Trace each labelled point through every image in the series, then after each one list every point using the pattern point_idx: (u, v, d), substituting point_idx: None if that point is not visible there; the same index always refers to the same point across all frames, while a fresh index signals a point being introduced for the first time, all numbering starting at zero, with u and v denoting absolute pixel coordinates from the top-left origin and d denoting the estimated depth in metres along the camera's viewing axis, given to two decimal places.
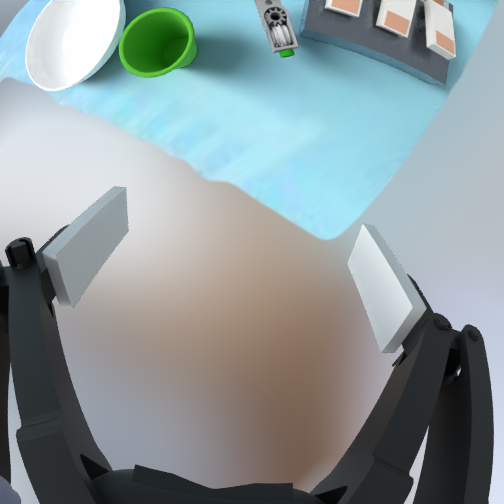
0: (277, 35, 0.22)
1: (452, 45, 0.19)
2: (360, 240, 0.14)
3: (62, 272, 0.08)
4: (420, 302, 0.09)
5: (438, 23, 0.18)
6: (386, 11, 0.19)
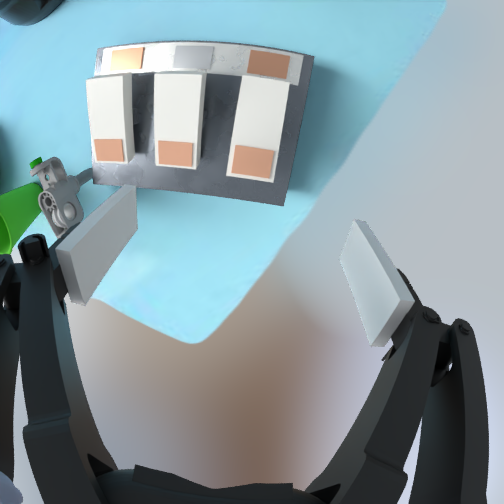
0: (56, 221, 0.25)
1: (270, 160, 0.22)
2: (351, 235, 0.14)
3: (75, 268, 0.09)
4: (408, 295, 0.09)
5: (246, 127, 0.21)
6: (158, 143, 0.22)
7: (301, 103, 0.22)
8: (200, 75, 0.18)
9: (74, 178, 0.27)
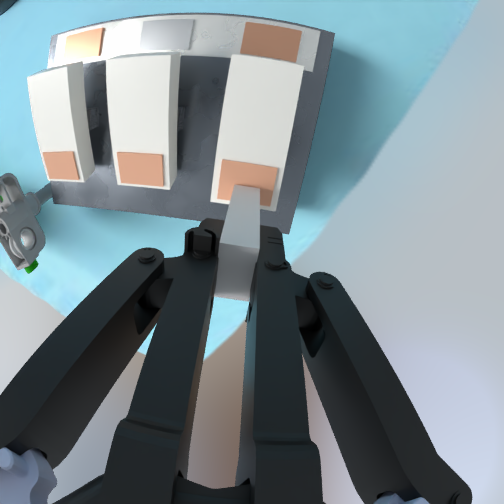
0: (14, 251, 0.18)
1: (271, 181, 0.16)
2: None
3: (237, 262, 0.11)
4: (254, 243, 0.10)
5: (237, 133, 0.14)
6: (117, 155, 0.15)
7: (316, 96, 0.16)
8: (168, 56, 0.11)
9: (33, 196, 0.20)
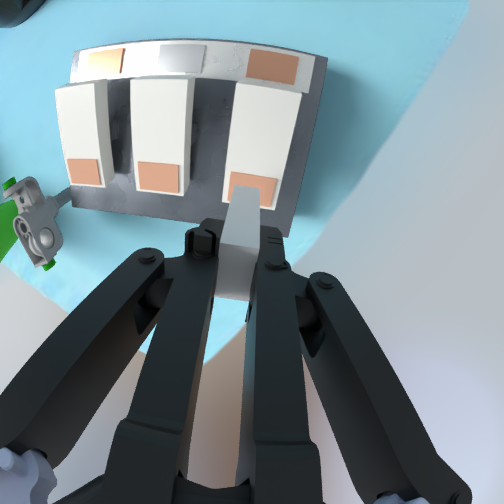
0: None
1: (271, 188, 0.19)
2: None
3: (237, 262, 0.11)
4: (254, 243, 0.10)
5: (243, 151, 0.17)
6: (138, 164, 0.18)
7: (312, 115, 0.19)
8: (185, 80, 0.14)
9: (52, 199, 0.23)
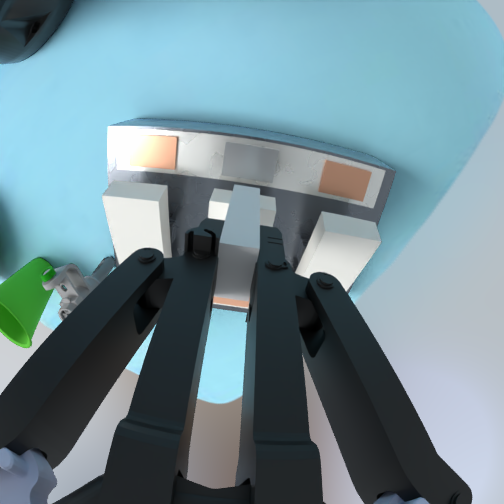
0: None
1: None
2: None
3: (237, 262, 0.11)
4: (254, 243, 0.10)
5: None
6: None
7: None
8: (273, 211, 0.16)
9: (95, 280, 0.25)
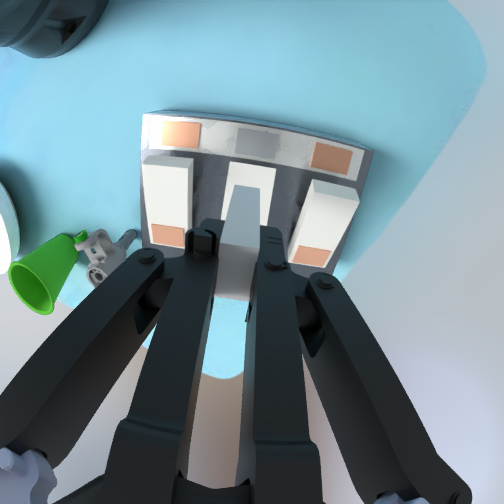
0: None
1: (325, 256, 0.26)
2: None
3: (237, 262, 0.11)
4: (254, 243, 0.10)
5: (310, 234, 0.24)
6: None
7: None
8: (274, 169, 0.23)
9: (120, 247, 0.30)
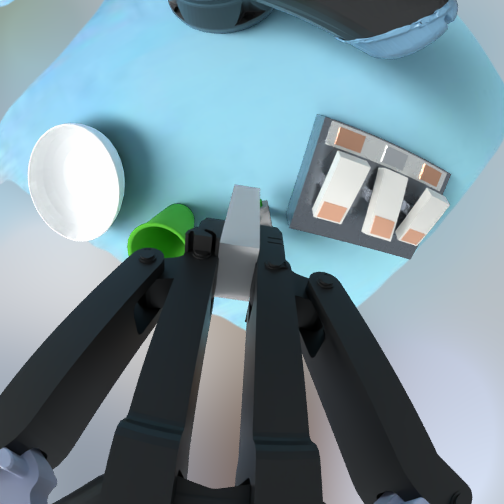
0: None
1: (420, 237, 0.35)
2: None
3: (237, 262, 0.11)
4: (254, 243, 0.10)
5: (419, 221, 0.33)
6: (374, 217, 0.32)
7: None
8: (407, 178, 0.31)
9: None
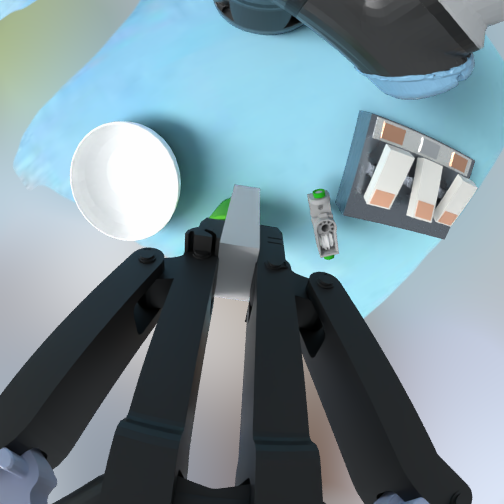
0: (323, 244, 0.37)
1: (454, 218, 0.36)
2: None
3: (237, 262, 0.11)
4: (254, 243, 0.10)
5: (453, 204, 0.34)
6: (417, 202, 0.33)
7: None
8: (442, 166, 0.32)
9: None
